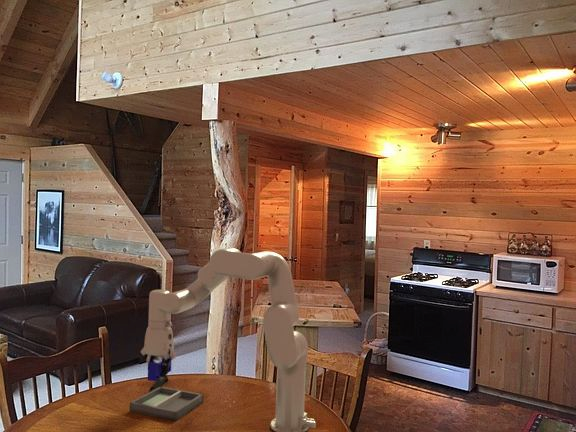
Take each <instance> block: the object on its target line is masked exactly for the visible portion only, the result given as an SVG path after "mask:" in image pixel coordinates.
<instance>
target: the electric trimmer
mask: <svg viewBox="0 0 576 432" xmlns="http://www.w3.org/2000/svg"><path fill="white" fill-rule="evenodd" d="M166 382H169V378H168V375H165V376H162V377H161V378H159V379H158V380H156V381H154V383H153V384H152V385H151V386H150V388H149V392H151V391H153V390H155V389H157V388H158V387H160V386H161V387H163V385H164V383H166Z"/></svg>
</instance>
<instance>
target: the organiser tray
mask: <svg viewBox="0 0 576 432" xmlns="http://www.w3.org/2000/svg"><path fill="white" fill-rule="evenodd" d="M204 394H205V393H204ZM204 394H202V393H198V392H194V391H187V390H181V389H177V388H171V387H167V386H162V387H161V386H160V387H158V388H157V389H155V390H153V391H149V392H147V393H146V394H143V395H142V396H139V397H138V398H136V399H134V400H132V401H130V402H129V412H131V413H136V414H142V415H146V416H149V417H150V416H151V417H153V418H154V417H155V418H159V419H163V420H164V419H165V420H170V421H173V422H176V421H178V420H179V419H181V418H182V417H184V416H185V415H187V414H188V413H190V412H192V411H193V410H194V409H196V408H198V407H199V406H200V405H202V404H203V403H204Z"/></svg>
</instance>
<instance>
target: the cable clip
mask: <svg viewBox="0 0 576 432" xmlns="http://www.w3.org/2000/svg"><path fill="white" fill-rule="evenodd" d="M169 357H170V355H169ZM165 360H166V359H165ZM162 365H163V363H162V360H161V361H159V362H155V363H154V362H149V363H147V381H152V382H156V380H158V379H159V378H161V377H162V376H161V366H162ZM171 372H172V361H171V362H170V363H169V364H168V374H169V373H171Z"/></svg>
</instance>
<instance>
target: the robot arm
mask: <svg viewBox="0 0 576 432" xmlns="http://www.w3.org/2000/svg"><path fill="white" fill-rule="evenodd" d="M265 277H267V279H268V293H269V298H270V304H271V305H270V306H269V307H267V309H266V310H265V312H264V314H263V318H262V325H263V333H264V337H265V344H266V347H267V348H266V349H267V353H268V357H269V360H270V361H271V363H272V364H273V366H275V367H276V390H275V392H276V393H275V395H276V396H275V417H274V419H272V420H271V421H270V428H271V430H273V432H307V431H308V429H309V428H313V429H315V428H316V427H317V426H316V425H317V422H316V421H315V419H314V418H310V417H309V418H308V413H307V412H305V401H306V400H305V399H306V398H305V397H306V396H305V395H306V393H305V392H306V371H307V361H308V351H309V344H308V341H307V338H306V337H305V336H304V334H303V333H301V332H299V331H298V330H297V331H296V330H294V328H293V327H295V326H296V325H297V324H298V322H299V320H300V310H299V306H298V301H297V294H296V290H295V285H294V281H293V275H292V271H291V267H290V265H289V264H288V262H287V261H286V259H285V258H284V257H283V256H281V255H280V254H278V253H276V252H273V251H258V252H253V253H247V252H242V251H241V250H239V249H237V248H235V247H226V248H221V249H217V250H216V251H214V252H213V253H212V254H211V255H210V257H209V262H207V263H206V264H205V265H204V266H202V267H201V268H200V269H199V270H198V272H197V278H196V279H195V280H194V281H193V282H192V283H191V284H190V285H188V286H187V287H186V288H184V289H180V290H177V291H173V292H170V290H168V289H153V290H151V291H150V292H149V295H148V296H149V298H148V326H147V328H146V331H145V334H144V346H143V348H142V349H141V350H140V353H141V355H142V356H143V357H144V359H145V361H146V363H147V364H148V363H149V362H154V363H156V362H155V360H154V359H155V357H159V358H161V361H162V363H163V365H162V366H161V376H165V375H166V376H168V374H169V373H168V364H169V363H170V362H171V363H172V361H173V360H174V359H176V358H177V355H176V353H175V351H174V350H175V348H174V347H175V343H174V334H173V329H172V327H173V322H171V315H177V314H180V313H183V312H185V311H187V310H191V309H194V308H195V306H197V305H198V304H200V303H201V302H202V301H203V300H205V299H206V298H207V297H208V296H209V295H210V294H211V293H213V291H214V290H215V289H216V288H218V287H219V286H220V285H221V284H223V283H224V282H225V281H227V280H228V279H229V278H235V279H242V280H247V281H248V280H249V281H250V280H251V281H256V280H260V279H262V278H265ZM169 355H170V357H169ZM165 359H166V360H165Z"/></svg>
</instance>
